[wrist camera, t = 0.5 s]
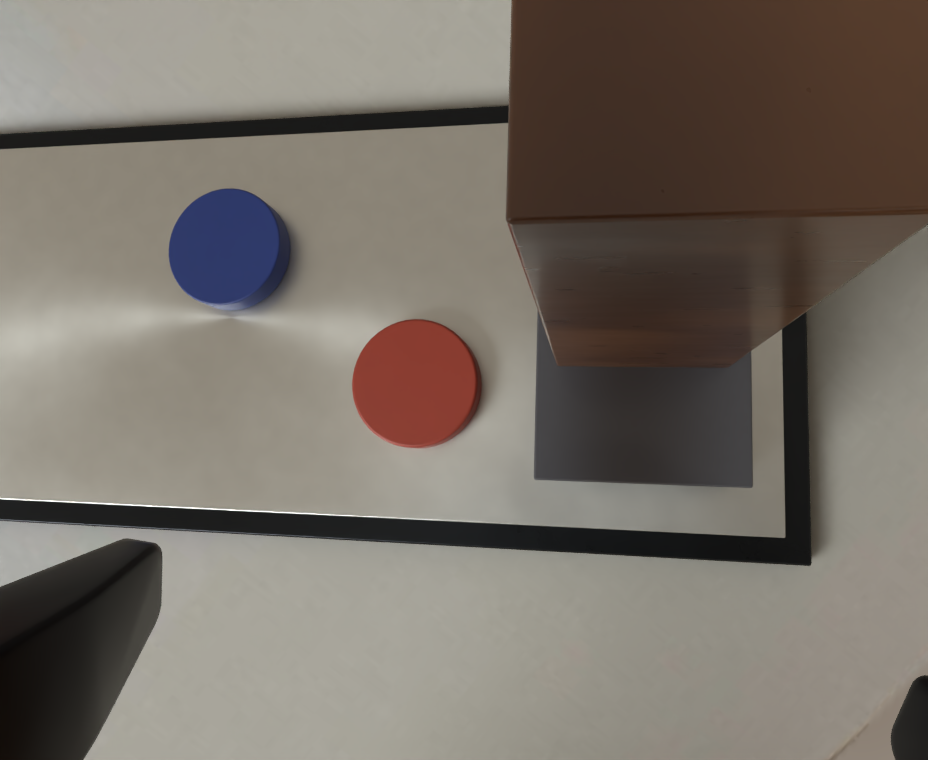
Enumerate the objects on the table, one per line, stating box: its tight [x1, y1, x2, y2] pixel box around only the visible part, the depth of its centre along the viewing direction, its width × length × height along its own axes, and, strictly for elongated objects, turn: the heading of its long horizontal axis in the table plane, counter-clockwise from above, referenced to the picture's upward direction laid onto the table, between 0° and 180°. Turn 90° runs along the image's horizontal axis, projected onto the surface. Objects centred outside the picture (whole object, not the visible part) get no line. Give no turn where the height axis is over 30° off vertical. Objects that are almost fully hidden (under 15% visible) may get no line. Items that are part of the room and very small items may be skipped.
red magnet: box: [352, 319, 482, 449], centre depth 20 cm, size 4×4×1 cm
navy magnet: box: [169, 188, 290, 311], centre depth 22 cm, size 4×4×1 cm
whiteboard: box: [0, 106, 811, 566], centre depth 22 cm, size 33×13×1 cm, turn 88°
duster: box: [506, 0, 928, 488], centre depth 13 cm, size 5×9×13 cm, turn 178°
